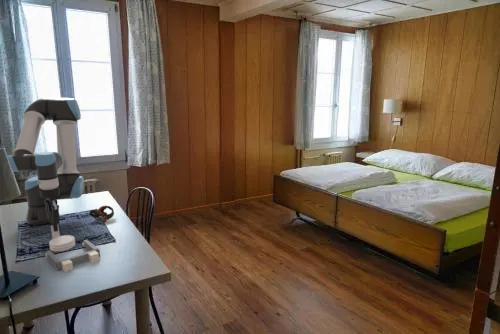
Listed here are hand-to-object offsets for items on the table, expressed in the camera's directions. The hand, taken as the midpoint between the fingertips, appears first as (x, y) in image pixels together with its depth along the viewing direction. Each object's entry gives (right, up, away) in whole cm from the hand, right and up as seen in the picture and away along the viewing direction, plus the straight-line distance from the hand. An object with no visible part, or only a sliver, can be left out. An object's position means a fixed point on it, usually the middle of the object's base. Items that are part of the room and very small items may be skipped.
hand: (56, 237), depth 153 cm
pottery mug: (+10, +4, +26) cm, 28 cm away
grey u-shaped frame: (+16, -5, -15) cm, 23 cm away
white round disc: (+6, -4, -5) cm, 9 cm away
